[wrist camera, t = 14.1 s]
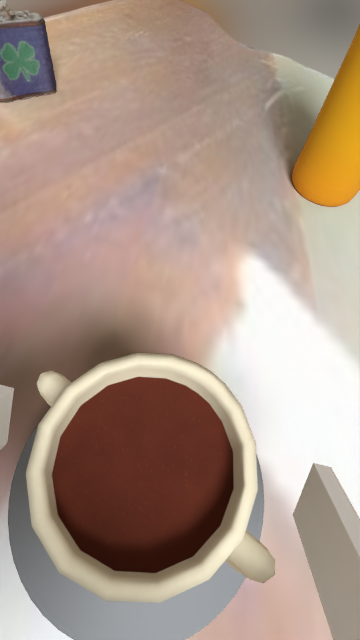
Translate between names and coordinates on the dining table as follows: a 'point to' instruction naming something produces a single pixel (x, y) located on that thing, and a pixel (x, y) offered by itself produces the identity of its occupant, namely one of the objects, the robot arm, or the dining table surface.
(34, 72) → the flask
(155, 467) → the character mug
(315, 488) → the robot arm
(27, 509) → the plinth
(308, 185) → the beer bottle
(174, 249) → the dining table surface
